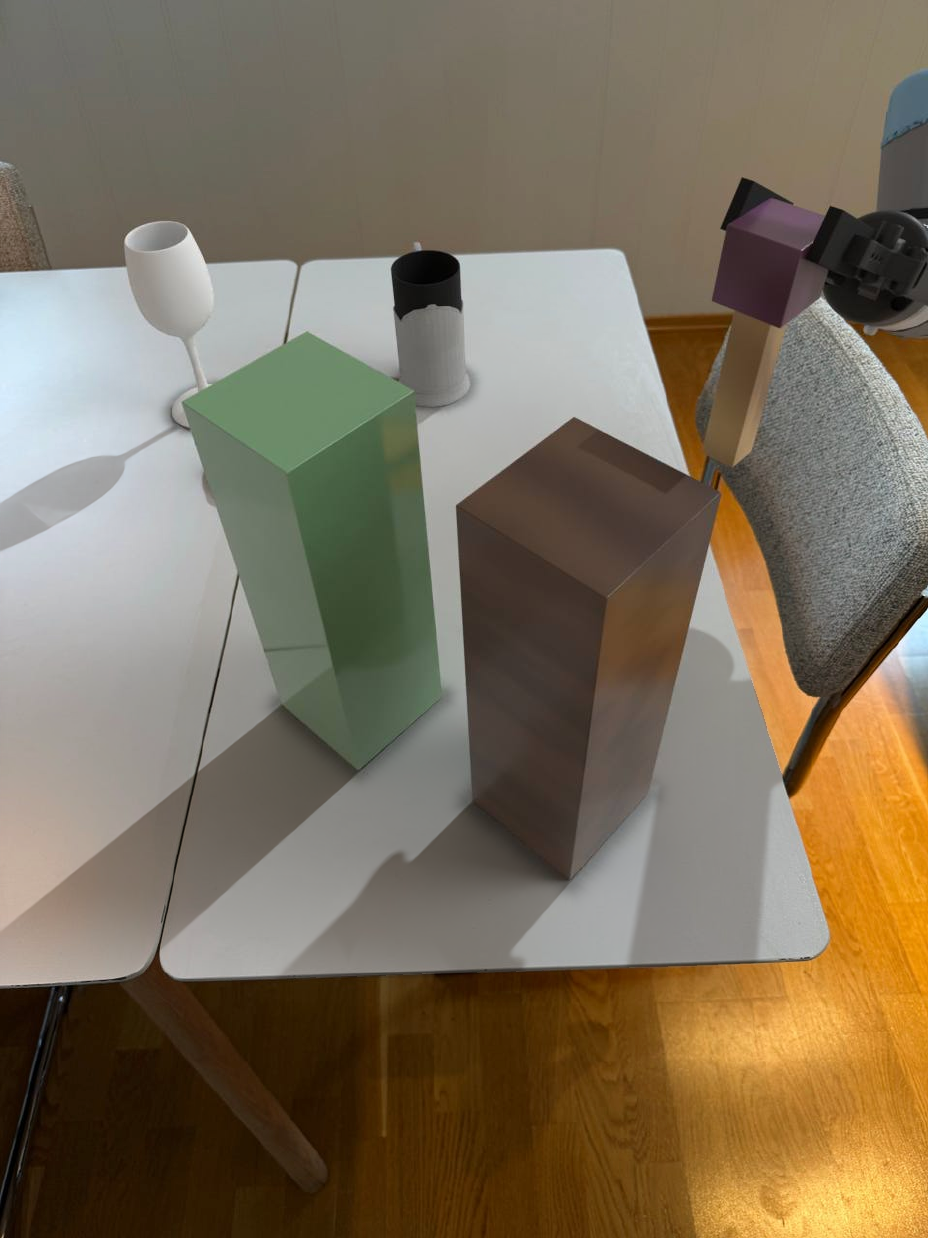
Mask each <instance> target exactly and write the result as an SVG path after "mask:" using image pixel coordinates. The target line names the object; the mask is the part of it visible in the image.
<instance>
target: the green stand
mask: <svg viewBox="0 0 928 1238" xmlns="http://www.w3.org/2000/svg"><path fill="white" fill-rule="evenodd" d="M398 381H399V380H398ZM398 381H397V380H396V379H394V378H392V377H391V376H389V375H387V374H385V373H383V372H381V371H380V370H378V369H376V368H374V367H373V366H370V365H369V364H367V363H365V362H364V361H362V360H360V359H358V358H356V357H354V356H353V355H351V354H349V353H347V352H345V351H343V350H341V349H340V348H338V347H336V346H334V345H333V344H331V343H329V342H328V341H326V340H324V339H322V338H320V337H318V336H317V335H314V334H313V333H311V332H310V331H305V332H303V333H302V334H299V335H298V336H296V337H294V338H292V339H291V340H289V341H287V342H285V343H283V344H282V345H280V346H278V347H276V348H274V349H273V350H271V351H269V352H267V353H265V354H263V355H262V356H260V357H258V358H257V359H254V360H253V361H251V362H249V363H248V364H246V365H244V366H242V367H241V368H238V369H237V370H236V371H233V372H232V373H230V374H228V375H226V376H224V377H223V378H221V379H219V380H218V381H215V382H214V383H211V384H212V385H210V386H209V387H207V388H205V389H203V390H201V391H200V392H198V393H196V394H194V395H192V396H191V397H189V398H187V399H185V400H184V401H182V402H181V403H182V406H183V409H184V412H185V415H186V418H187V421H188V424H189V427H190V428H189V430H190V433H191V437H192V439H193V442H194V444H195V445H194V446H195V447H196V451H197V454H198V457H199V460H200V462H201V465H202V468H203V472H204V476H205V478H206V481H207V483H208V487H209V490H210V493H211V496H212V499H213V502H214V505H215V508H216V511H217V514H218V517H219V520H220V523H221V526H222V529H223V532H224V535H225V538H226V542H227V544H228V547H229V550H230V552H231V556H232V560H233V563H234V565H235V569H236V571H237V574H238V577H239V580H240V583H241V586H242V590H243V592H244V595H245V598H246V601H247V604H248V607H249V610H250V614H251V617H252V618H253V623H254V625H255V628H256V631H257V634H258V637H259V641H260V643H261V645H262V650H263V652H264V655H265V659H266V661H267V664H268V667H269V670H270V673H271V676H272V681H273V682H274V686H275V689H276V692H277V695H278V698H279V701H280V705H282V706H283V707H284V708H285V709H286V710H287V711H288V712H290V714H292V715H293V716H295V718H296V719H298V720H299V721H300V722H301V723H302V724H304V725H305V726H306V727H307V728H308V729H309V730H310V731H312V732H313V733H314V734H315V735H316V736H317V737H319V739H321V740H322V742H324V743H325V744H327V745H328V746H329V747H330V748H332V750H333V751H335V752H336V753H337V754H338V755H339V756H340V757H342V758H343V759H344V761H346V762H347V763H348V764H349V765H351V767H353V768H354V769H356V771H360V770H361V769H362V768H364V767H365V766H366V765H367V764H368V763H369V762H370V761H372V760H373V759H374V758H375V757H376V756H378V754H379V753H380V752H381V751H383V750H384V749H385V748H386V747H387V746H388V745H390V744H391V743H392V742H394V740H395V739H396V738H397V737H399V736H400V735H401V734H402V733H403V732H404V731H406V729H408V728H409V727H410V726H411V725H413V723H414V722H416V721H417V720H418V719H419V718H420V717H421V716H422V715H423V714H425V713H426V712H427V711H428V710H429V709H431V708H432V707H433V706H434V705H435V704H436V703H438V702H439V700H441V699H442V698H443V690H442V689H443V688H442V678H441V668H440V659H439V649H438V648H439V646H438V636H437V625H436V614H435V602H434V593H433V582H432V581H433V580H432V572H431V571H432V570H431V560H430V559H431V558H430V548H429V538H428V527H427V517H426V516H427V515H426V505H425V495H424V484H423V473H422V464H421V463H422V461H421V452H420V441H419V440H420V439H419V430H418V419H417V409H416V405H415V396H414V390H412V389H410V388H408V387H407V386H405V385H403V384H401V383H399V382H398Z"/></svg>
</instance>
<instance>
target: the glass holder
mask: <svg viewBox="0 0 928 1238" xmlns="http://www.w3.org/2000/svg"><path fill="white" fill-rule="evenodd" d="M390 274H391V275H390V276H391V284H392V285H391V286H392V293H393V295H392V296H393V304H394V306H392V310H393V319H394V320H393V321H394V328H395V329H394V330H395V338H396V348H397V349H396V350H397V358H398V367H399V378H398V382H399V383H401V384H403V385H405V386H407V387H408V388H410V389H412V390H414V396H415V406H418V407H419V406H420V407H424V408H425V407H427V408H435V407H445V406H448V405H451V404H453V403H455V402H459V400H461V399H463V398H464V397H465V396H466V395H467V394H468V392H469V390H470V387H471V380H470V378H469V375H468V373H467V370H466V369H467V367H466V341H465V340H466V339H465V319H464V316H465V315H464V301H463V299H462V280H461V264H460V261H459V259H458V258H456V257H455V256H454V255H453V254H450V253H449V252H445V251H443V250H442V251H441V250H436V249H424V250H423V249H422V245H421V243H420V242H419V241H415V242H413V243H412V252H408V253H405V254H403V255H401V256H399V257H398V258H396V260H394V261H393V263H392V264H391V266H390Z"/></svg>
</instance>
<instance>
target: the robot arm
mask: <svg viewBox="0 0 928 1238" xmlns="http://www.w3.org/2000/svg"><path fill="white" fill-rule="evenodd" d="M879 149H880V159H879V173H878V182H877V183H878V184H877V197H876V209H875V211H873V212H869V213H866V214H863V215H861V216H860V217H855V215H853V214H851V213H849V212H848V211H846V210H844V209H842V208H839V207H836V206H833V205H829V207H828V209H827V210H826V211H827V212H826V213H825V218H824V220H823V222H822V224H821V226H820V228H819V230H818V233H817V235H816V237H815V239H814V241H813V243H812V246H811V248H810V251H809V253H808V255H807V257H806V260H808V261H811V262H813V263H815V264H818V265H820V266H822V267H825V268H827V269H829V270H828V273H827V277H826V280H825V283H824V286H823V290H822V293H823V296H824V299H825V301H826V303H827V304H828V306H830V308H831V309H832V310H833V311H834V313H836V314H837V315H838V316H840V317H842V318H843V319H845V320H848V321H849V322H853V323H856V324H860V325H863V329H862V331H863V333H864V334H865V335H869V336H871V337H872V336H874V335H876V334H877V332H878V330H882V331H885V332H887V333H889V334H890V335H892V336H894V335H895V336H897V337H898V338H900V339H910V338H911V339H913V338H914V339H915V338H916V339H917V338H918V339H925V338H928V67H927V68H926V67H925V68H923V69H921V70H917V71H915V72H913V73H911V74H909V75H907V76H906V77H904V78H903V79H902V80H901V81H900V82H898V84H897V85H896V86H895V87H894V88H893V90H892V91H891V93H890V96H889V100H888V106H887V110H886V114H885V121H884V128H883V135H882V141H880V148H879ZM769 198H773V199H776V200H779V201H782V202H785V203H788V204H791V205H794V204H795V203H794V202H792V201H791V200H789V199H787V198H785V197H783V196H782V195H780V194H778V193H776V192H775V191H773V190H771V189H770V188H767V187H765V186H764V185H762V184H760V183H758V182H757V181H755V180H752V179H749V178H746V177H743V176H742V177H741V178H740V180H739V183H738V185H737V188H736V190H735V193H734V195H733V197H732V200H731V202H730V204H729V206H728V209H727V211H726V213H725V216H724V219H723V221H722V223H721V225H720V227H719V228H720V230H722V231H725V232H726V229H727V225H728V224H729V223H731V222H733V221H734V220H736V219H737V218H739V217H740V216H742V215H744V214H745V213H747V212H748V211H750V210H752V209H753V208H755V207H756V206H758V205H760V204H761V203H763V202H764V201H766V200H767V199H769Z"/></svg>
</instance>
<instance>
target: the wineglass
mask: <svg viewBox="0 0 928 1238" xmlns="http://www.w3.org/2000/svg"><path fill="white" fill-rule="evenodd" d="M123 249H124V260H125V266H126V267H125V268H126V274H127V277H128V281H129V286H130V289H131V293H132V295H133V297H134V300H135V303H136V305H137V309H139V312H140V313H141V315H142V317H143V318H144V320H146V321H147V323H148V324H149V325H150V326H151V327H153V328H154V329H155V330H156V331H159V332H160V333H163V334H164V335H167V336H170V337H174V338H175V337H176V338H179V339H180V340H181V341H182V343H183V345H184V347H185V350H186V352H187V356H188V357H189V361H190V364H191V366H192V370H193V375H194V379H195V382H196V386H195V387H193V388H190V389H189V390H186V391H185V392H183V393H182V394H181V395H180V396H178V398H177V399H175V401H174V403H173V405H172V408H171V416H172V418H173V419H174V421H175V422H176V423H178V424H179V425H180V426H182V427H185V428H188V429H190V427H189V424H188V421H187V418H186V415H185V412H184V409H183V406H182V403H181V402H182V401H184V400H185V399H187V398H189V397H191V396H192V395H194V394H196V393H198V392H200V391H201V390H203V389H205V388H207V387H209V386H210V385H212V384H213V383H208V382H207V379H206V376H205V374H204V370H203V367H202V365H201V362H200V358H199V355H198V350H197V347H196V342H195V335H196V334H197V333H198V332H200V331H201V330H202V329H203V328H204V327H205V326H206V325H207V323H208V322H209V320H210V318H211V316H212V312H213V310H214V306H215V295H214V288H213V284H212V280H211V275H210V272H209V269H208V266H207V264H206V261H205V259H204V256H203V254H202V252H201V250H200V247H199V245H198V244H197V242H196V239H195V238H194V235H193V234H192V232H191V231H190V229H189V228H188V227H187V226H186V225H185V224H183V223H181V222H177V221H170V220H159V221H152V222H148V223H144V224H142V225H140V226H137V227H135V228H133V229H132V230H131V231H129V232H128V233H127V235H126V236H125V237H124V241H123Z"/></svg>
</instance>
